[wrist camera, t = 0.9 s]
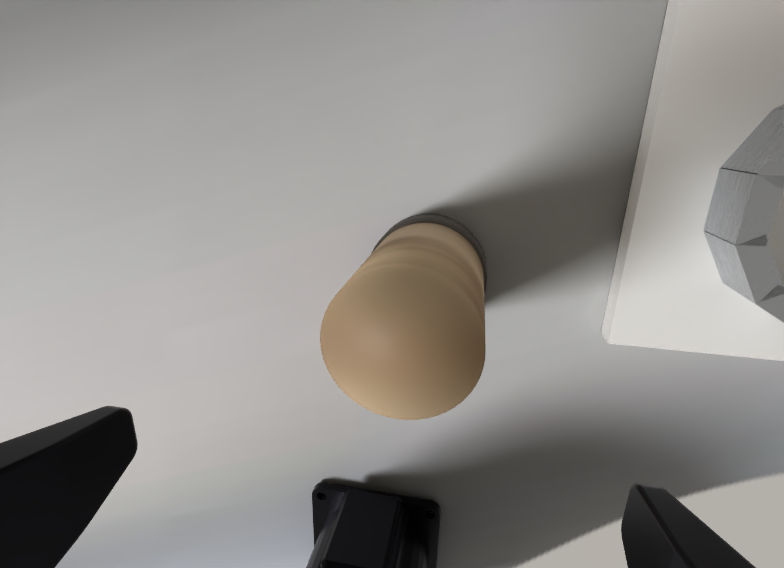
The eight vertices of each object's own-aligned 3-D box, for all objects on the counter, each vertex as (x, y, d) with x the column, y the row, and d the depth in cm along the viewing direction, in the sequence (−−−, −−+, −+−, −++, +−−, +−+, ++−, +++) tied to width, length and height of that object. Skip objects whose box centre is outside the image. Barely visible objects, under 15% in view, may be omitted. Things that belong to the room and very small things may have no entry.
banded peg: (480, 326, 19) (480, 433, 12) (373, 316, 19) (319, 411, 13) (491, 217, 17) (498, 273, 11) (374, 210, 18) (313, 258, 11)
